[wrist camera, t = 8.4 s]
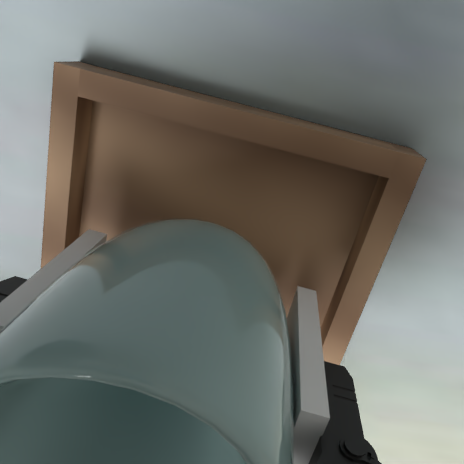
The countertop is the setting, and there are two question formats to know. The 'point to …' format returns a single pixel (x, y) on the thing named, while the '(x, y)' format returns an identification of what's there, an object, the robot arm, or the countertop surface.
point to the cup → (152, 356)
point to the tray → (227, 183)
